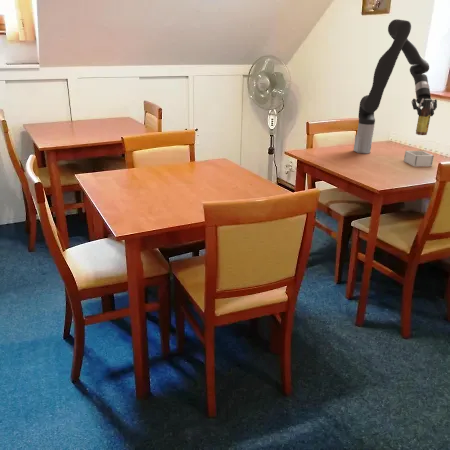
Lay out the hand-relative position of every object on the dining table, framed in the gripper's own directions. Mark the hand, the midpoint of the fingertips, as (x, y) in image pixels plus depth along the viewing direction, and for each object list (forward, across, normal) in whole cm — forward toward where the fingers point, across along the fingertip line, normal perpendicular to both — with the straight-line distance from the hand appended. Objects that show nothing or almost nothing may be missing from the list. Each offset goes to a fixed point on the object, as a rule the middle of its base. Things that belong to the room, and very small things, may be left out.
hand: (426, 115), depth 260 cm
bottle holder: (+28, -5, +7) cm, 29 cm away
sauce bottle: (+7, 0, +9) cm, 12 cm away
